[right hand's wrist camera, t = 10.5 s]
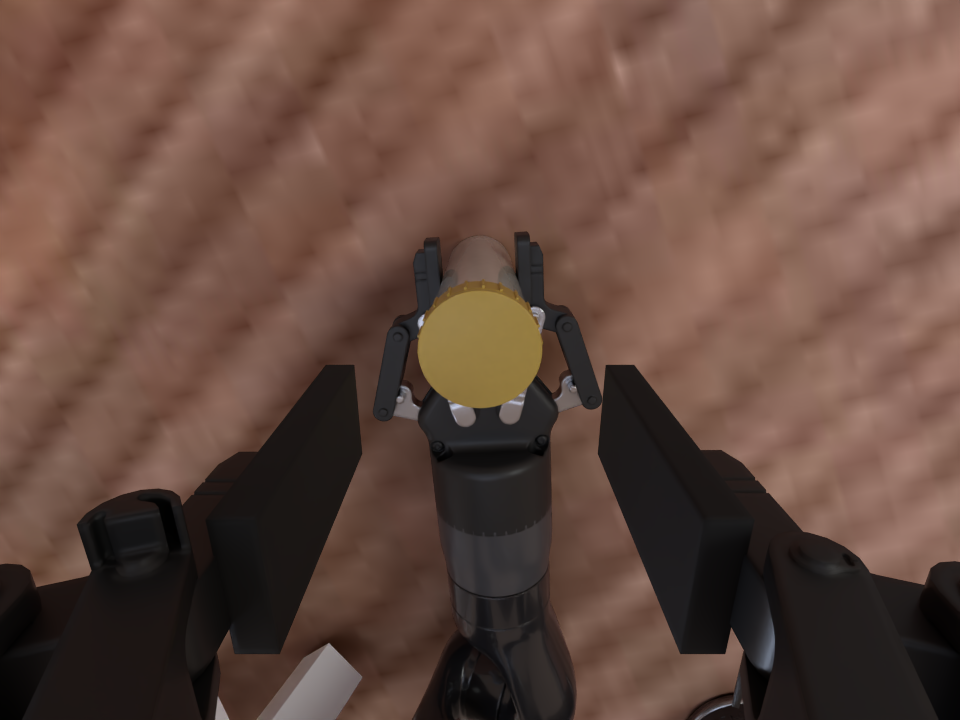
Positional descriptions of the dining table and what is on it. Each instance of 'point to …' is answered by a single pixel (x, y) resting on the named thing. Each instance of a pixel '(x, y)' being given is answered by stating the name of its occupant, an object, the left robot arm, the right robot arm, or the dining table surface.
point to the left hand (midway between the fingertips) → (476, 237)
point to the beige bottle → (480, 264)
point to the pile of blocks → (311, 689)
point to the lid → (479, 344)
